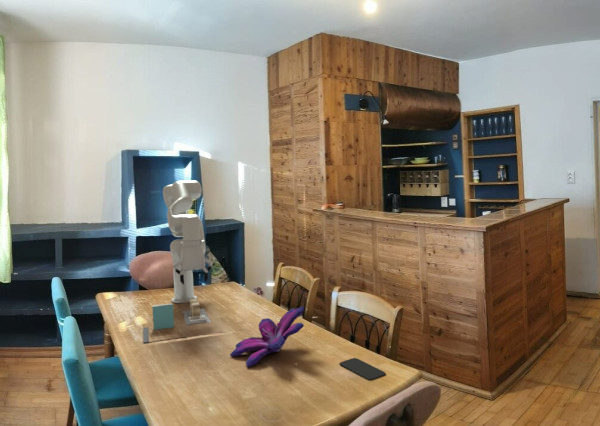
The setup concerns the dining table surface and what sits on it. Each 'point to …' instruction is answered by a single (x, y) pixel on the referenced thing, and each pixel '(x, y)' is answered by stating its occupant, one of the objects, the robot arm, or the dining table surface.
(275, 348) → the decorative flower
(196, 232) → the robot arm
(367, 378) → the phone
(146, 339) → the mat
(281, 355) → the dining table surface
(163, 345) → the dining table surface
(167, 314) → the tile
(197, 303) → the tan bar with plate
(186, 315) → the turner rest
